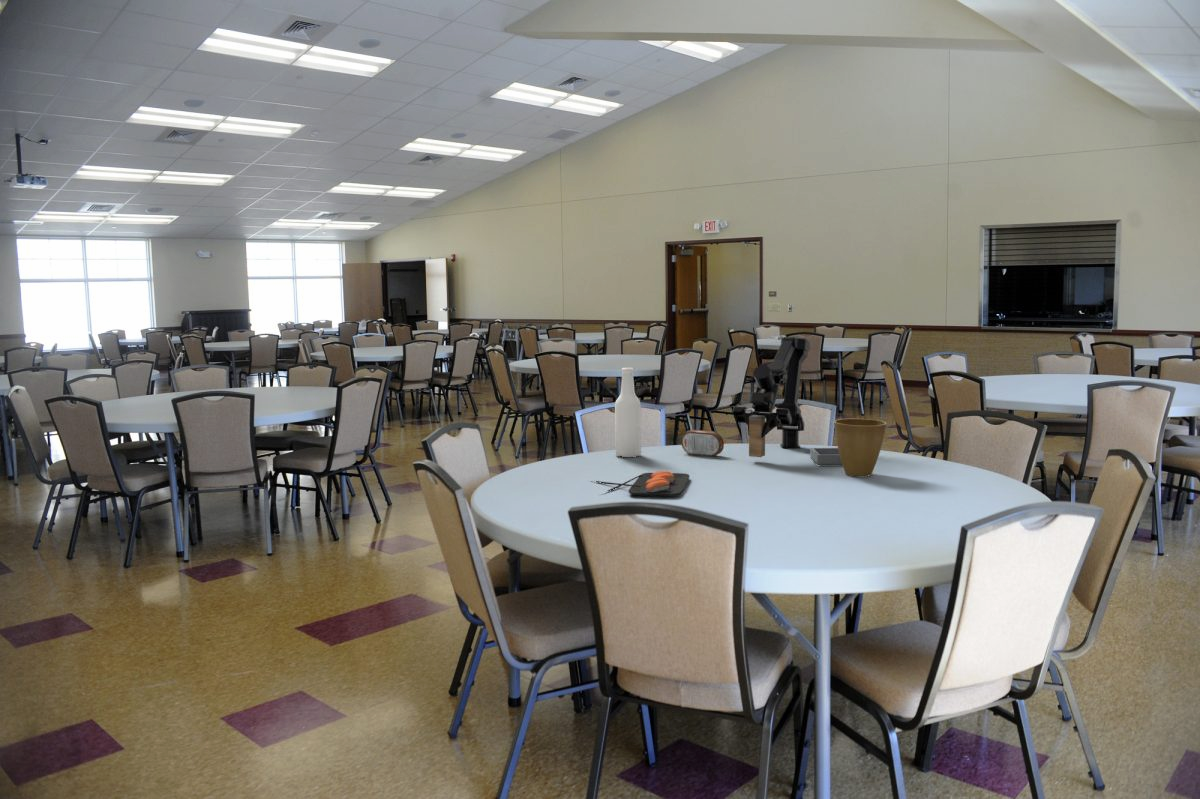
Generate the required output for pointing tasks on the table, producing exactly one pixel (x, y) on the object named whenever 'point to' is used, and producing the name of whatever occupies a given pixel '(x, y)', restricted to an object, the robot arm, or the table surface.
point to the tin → (702, 443)
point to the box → (825, 456)
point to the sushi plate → (656, 484)
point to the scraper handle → (756, 436)
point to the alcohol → (627, 418)
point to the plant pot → (859, 444)
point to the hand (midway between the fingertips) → (755, 436)
